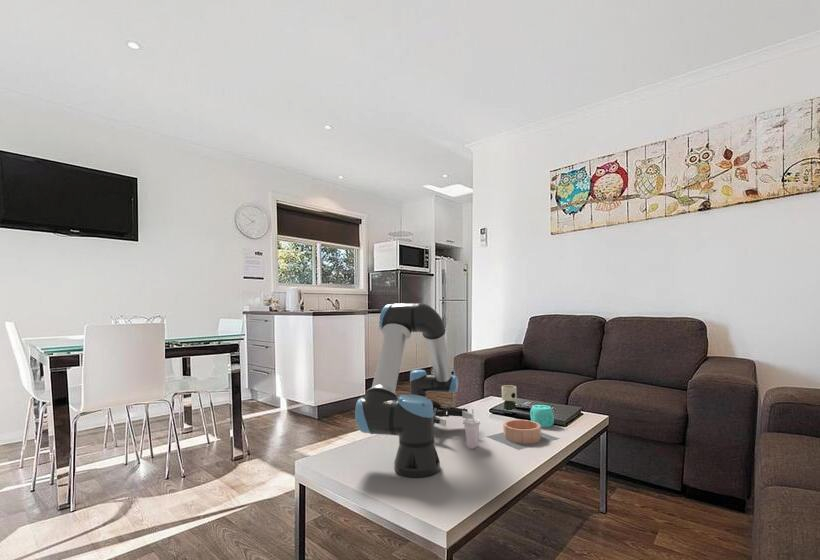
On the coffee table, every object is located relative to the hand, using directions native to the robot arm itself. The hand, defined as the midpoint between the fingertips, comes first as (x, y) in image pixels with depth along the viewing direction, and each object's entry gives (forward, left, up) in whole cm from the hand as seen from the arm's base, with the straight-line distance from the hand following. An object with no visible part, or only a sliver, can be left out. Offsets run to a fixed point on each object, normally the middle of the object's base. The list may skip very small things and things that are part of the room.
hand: (459, 420), depth 164 cm
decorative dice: (+42, -4, -8) cm, 43 cm away
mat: (+22, -12, -8) cm, 26 cm away
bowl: (+22, -12, -7) cm, 26 cm away
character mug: (+44, +18, -8) cm, 48 cm away
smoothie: (0, -8, -8) cm, 11 cm away
